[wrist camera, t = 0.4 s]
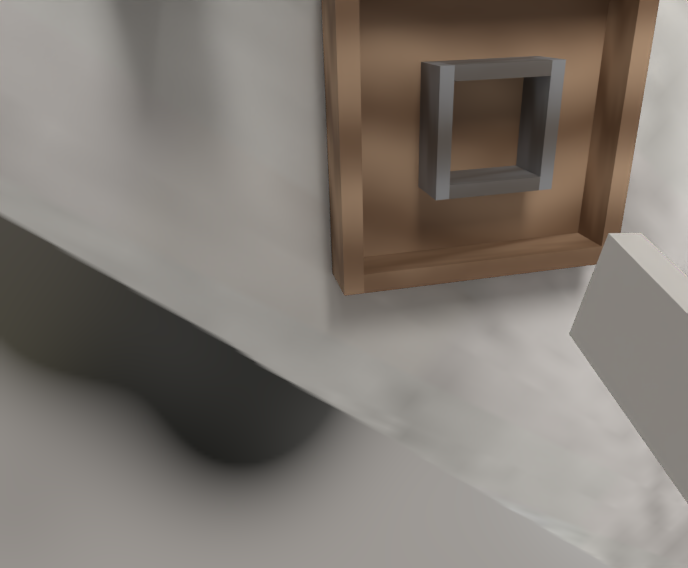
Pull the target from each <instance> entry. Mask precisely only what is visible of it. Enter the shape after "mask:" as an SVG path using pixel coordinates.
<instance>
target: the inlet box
mask: <svg viewBox="0 0 688 568" xmlns="http://www.w3.org/2000/svg"><path fill="white" fill-rule="evenodd" d="M321 2H322V26H323V51H324V76H325V100H326V125H327V150H328V174H329V199H330V224H331V248H332V273H333V275H334V277H335V279H336V280H337V282H338V284H339V286H340V288H341V290H342V292H343V294H344V295H345V296H346V295H354V294H362V293H370V292H378V291H386V290H394V289H402V288H410V287H418V286H426V285H434V284H442V283H450V282H458V281H466V280H474V279H482V278H490V277H498V276H506V275H514V274H522V273H530V272H538V271H546V270H554V269H562V268H570V267H578V266H586V265H595V264H597V261H598V259H599V256H600V254H601V251H602V249H603V246H604V243H605V241H606V238H607V236H608V233H620V232H621V226H622V220H623V215H624V209H625V203H626V197H627V191H628V185H629V179H630V173H631V167H632V161H633V155H634V149H635V143H636V137H637V131H638V125H639V119H640V113H641V107H642V101H643V95H644V89H645V83H646V77H647V71H648V65H649V59H650V53H651V47H652V41H653V35H654V29H655V23H656V17H657V11H658V5H659V0H321Z"/></svg>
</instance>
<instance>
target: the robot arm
mask: <svg viewBox="0 0 688 568" xmlns="http://www.w3.org/2000/svg"><path fill="white" fill-rule="evenodd" d="M569 334H570V336H571V337H572V339H573V340H574V342H575V343H576V344H577V346H578V347H579V349H580V350H581V352H582V353H583V354H584V356H585V357H586V359H587V360H588V362H589V363H590V364H591V366H592V367H593V369H594V370H595V372H596V373H597V374H598V376H599V377H600V379H601V380H602V382H603V383H604V384H605V386H606V387H607V389H608V390H609V392H610V393H611V394H612V396H613V397H614V399H615V400H616V402H617V403H618V404H619V406H620V407H621V409H622V410H623V412H624V413H625V414H626V416H627V417H628V419H629V420H630V422H631V423H632V425H633V426H634V427H635V429H636V430H637V432H638V433H639V435H640V436H641V437H642V439H643V440H644V442H645V443H646V445H647V446H648V447H649V449H650V450H651V452H652V453H653V455H654V456H655V457H656V459H657V460H658V462H659V463H660V465H661V466H662V467H663V469H664V470H665V472H666V473H667V475H668V476H669V477H670V479H671V480H672V482H673V483H674V485H675V486H676V487H677V489H678V490H679V492H680V493H681V495H682V496H683V497H684V499H685V500H686V502H687V503H688V276H686V275H685V274H684V273H683V272H682V271H681V270H680V269H679V268H678V267H677V266H676V265H675V264H674V263H673V262H672V261H670V260H669V259H668V258H667V257H666V256H665V255H664V254H663V253H662V252H661V251H660V250H659V249H658V248H657V247H656V246H654V245H653V244H652V243H651V242H650V241H649V240H648V239H647V238H646V237H645V236H644V235H643V234H642V233H608V236H607V238H606V241H605V243H604V246H603V249H602V251H601V254H600V256H599V259H598V261H597V264H596V267H595V269H594V272H593V274H592V277H591V279H590V282H589V285H588V287H587V290H586V292H585V295H584V297H583V300H582V303H581V305H580V308H579V310H578V313H577V315H576V318H575V320H574V323H573V326H572V328H571V331H570V333H569Z"/></svg>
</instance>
